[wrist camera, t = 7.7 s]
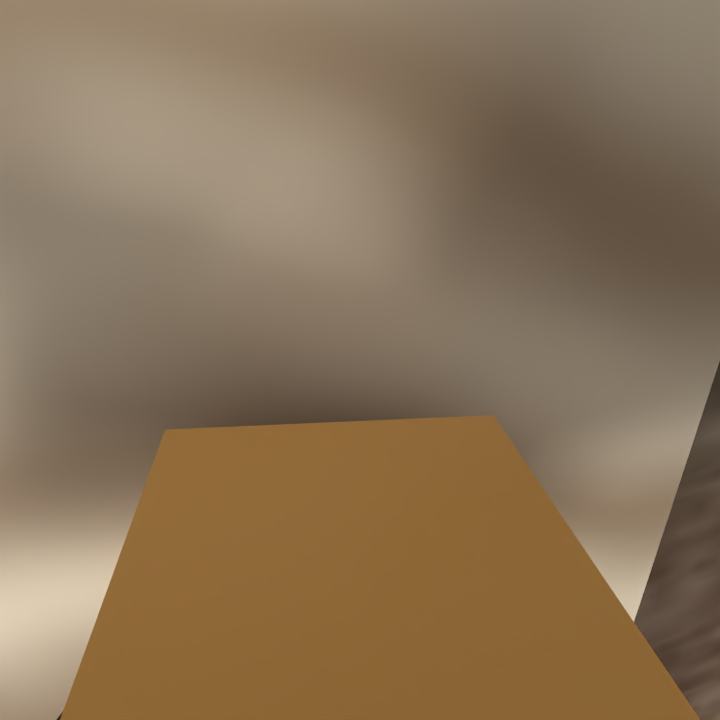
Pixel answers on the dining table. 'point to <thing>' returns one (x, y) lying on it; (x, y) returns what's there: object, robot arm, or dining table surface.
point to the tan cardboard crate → (360, 586)
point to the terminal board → (344, 258)
